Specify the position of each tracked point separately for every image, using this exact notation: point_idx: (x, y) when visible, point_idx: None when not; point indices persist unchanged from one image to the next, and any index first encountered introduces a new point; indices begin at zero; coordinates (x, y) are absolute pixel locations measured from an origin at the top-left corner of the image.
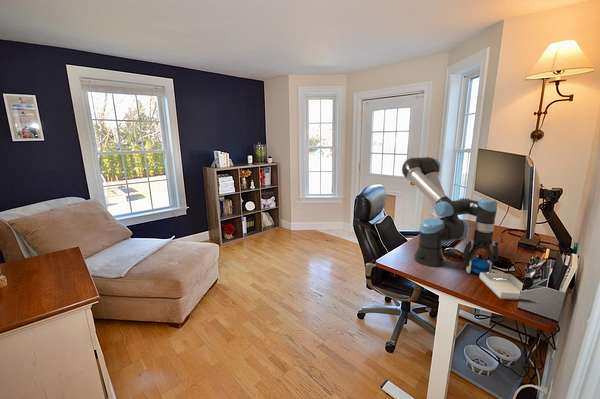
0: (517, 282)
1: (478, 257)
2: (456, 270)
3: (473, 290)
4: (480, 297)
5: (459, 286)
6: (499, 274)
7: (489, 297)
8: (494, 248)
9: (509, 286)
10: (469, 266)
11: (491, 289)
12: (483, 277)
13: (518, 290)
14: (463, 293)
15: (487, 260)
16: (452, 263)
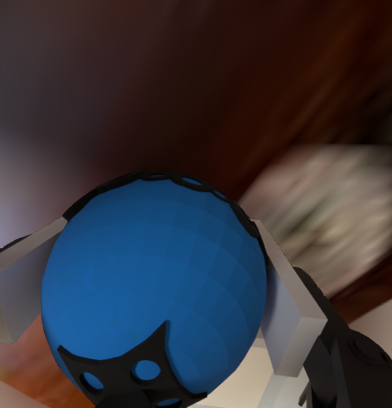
0: (300, 393)
1: (102, 384)
2: (25, 180)
3: (59, 370)
4: (68, 402)
5: (3, 345)
6: (264, 345)
7: None
8: None
9: (243, 374)
10: None
11: None
12: None
13: (255, 397)
14: (9, 383)
15: (295, 306)
16: (16, 8)
